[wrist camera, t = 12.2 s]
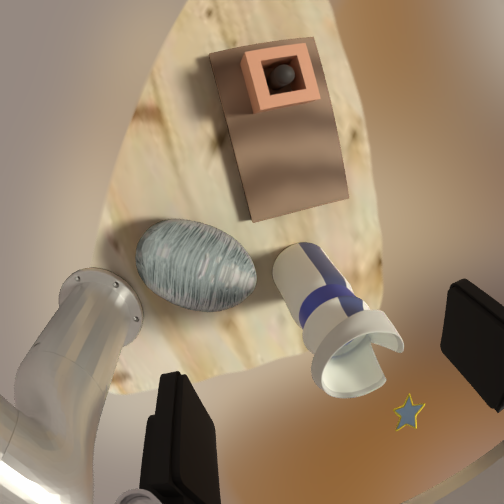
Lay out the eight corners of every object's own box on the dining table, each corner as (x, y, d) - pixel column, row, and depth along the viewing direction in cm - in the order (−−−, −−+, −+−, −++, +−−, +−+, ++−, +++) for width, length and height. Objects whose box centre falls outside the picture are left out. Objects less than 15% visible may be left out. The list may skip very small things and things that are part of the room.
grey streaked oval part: (118, 282, 34) (131, 295, 25) (144, 207, 35) (167, 194, 27) (215, 313, 41) (255, 331, 32) (236, 246, 42) (281, 247, 34)
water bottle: (340, 243, 39) (465, 367, 16) (321, 300, 42) (407, 444, 19) (281, 232, 38) (377, 374, 15) (264, 293, 40) (321, 459, 17)
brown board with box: (344, 195, 37) (372, 210, 30) (251, 219, 37) (260, 240, 30) (309, 40, 29) (332, 20, 22) (209, 57, 29) (208, 37, 22)
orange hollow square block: (305, 103, 31) (320, 98, 26) (253, 113, 31) (260, 110, 26) (292, 54, 29) (305, 42, 24) (240, 63, 28) (244, 52, 24)
